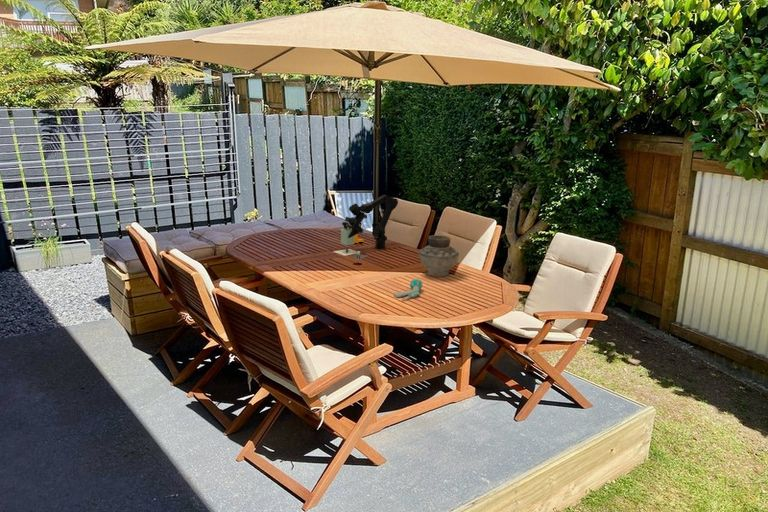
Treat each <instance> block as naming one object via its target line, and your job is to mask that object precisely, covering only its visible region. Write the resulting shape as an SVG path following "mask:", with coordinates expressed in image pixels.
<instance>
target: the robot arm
mask: <svg viewBox="0 0 768 512" xmlns="http://www.w3.org/2000/svg"><path fill="white" fill-rule="evenodd" d="M383 203H385V209H384V212H383V215H382V216H381V219H380V222H379V223H378V226H374V228H373V230H372V236H373V239H374V240H375V243H374V245H375V246H374V248H375V249H377V250H384V248H385V249H387V247H386V241H387V240H388V237H387V236H386V226H387V224H388V221H389V219H390V216H391V214H392V212H393V210H395V209H396V208H397V206H398V204H399V201H398V199H397V198H395V197H390V196H388V195H386V194H382V195H380V196H379V197H378V198H375V199H373V201H372V200H371V202H367V203H364V204H361V205H360V206H359V205H358V204H357V203H356V202H355V203H353V204H352V205H350V206H349V207H348V210H349V212H350V213H351V214H352V215H353V216H354V217H353V216H352V217H349V216H346V217H345V219H344V221H343V222H342V223H341V225H342V226H343V229H348V228H349V229H351V228H352V231H351V233H350V234H349V236H348V238H350V237H352V236H354V235H356V234H357V235H358V234H362V233H363V232H364V228H362V226H361V225H362V222H363V220H364V219H366V220H367V219H368V215H367V214H370V213H371V212H372V211H373V210H374V209H375V208H376V207H378V206H381V204H383Z"/></svg>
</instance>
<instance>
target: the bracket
mask: <svg viewBox="0 0 768 512" xmlns="http://www.w3.org/2000/svg"><path fill="white" fill-rule="evenodd" d="M351 229H352V228H351ZM359 242H363V243H364V239H363V238H359V237H358V234H356V235H354V243H357V244H360V243H359Z"/></svg>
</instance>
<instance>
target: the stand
mask: <svg viewBox="0 0 768 512" xmlns="http://www.w3.org/2000/svg"><path fill="white" fill-rule="evenodd" d="M356 251H357V254H351V255H350V256H349V258H354V259H360V260H361V259H364V258H367V257H368V256H369V255H367V254H361V251H360V250H356Z"/></svg>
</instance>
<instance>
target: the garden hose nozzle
mask: <svg viewBox="0 0 768 512" xmlns="http://www.w3.org/2000/svg"><path fill="white" fill-rule="evenodd" d="M409 287H410V290H405V291H399V292H395V293H393V297H394V296H395V298H396V299H399V298H401V297H403V298H402V299H401V300H406V301H408V300H409V299H411V298H416V297H418V296H419V295H420V291H421V289H422V288H423V281H422V280H421V279H419V278H413V279H412V280H411V281H410V282H409ZM405 296H406V297H405ZM398 297H399V298H398Z"/></svg>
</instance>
